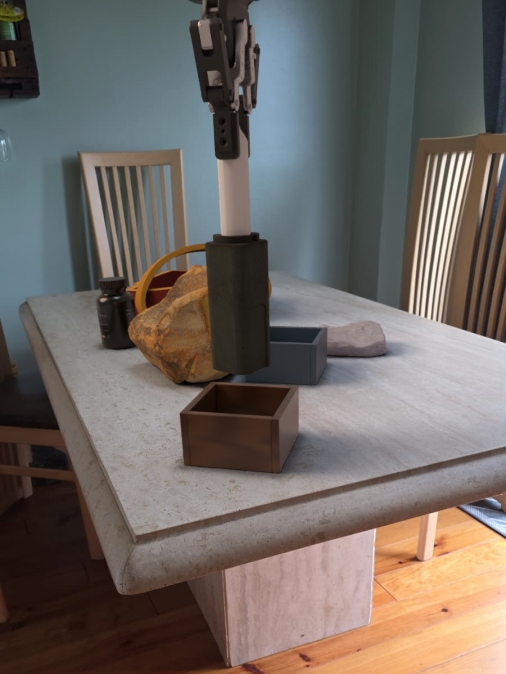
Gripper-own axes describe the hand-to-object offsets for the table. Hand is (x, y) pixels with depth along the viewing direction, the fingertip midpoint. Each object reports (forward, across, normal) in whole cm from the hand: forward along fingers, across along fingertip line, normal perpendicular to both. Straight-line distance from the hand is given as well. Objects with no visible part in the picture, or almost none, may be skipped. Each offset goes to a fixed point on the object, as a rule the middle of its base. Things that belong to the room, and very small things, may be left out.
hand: (233, 158), depth 58 cm
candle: (+20, 0, 0) cm, 20 cm away
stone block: (+30, +43, -7) cm, 53 cm away
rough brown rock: (+30, +29, +18) cm, 45 cm away
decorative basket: (+30, +70, +28) cm, 81 cm away
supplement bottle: (+30, +41, +35) cm, 62 cm away
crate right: (+30, +29, +1) cm, 42 cm away
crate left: (+30, 0, 0) cm, 30 cm away
